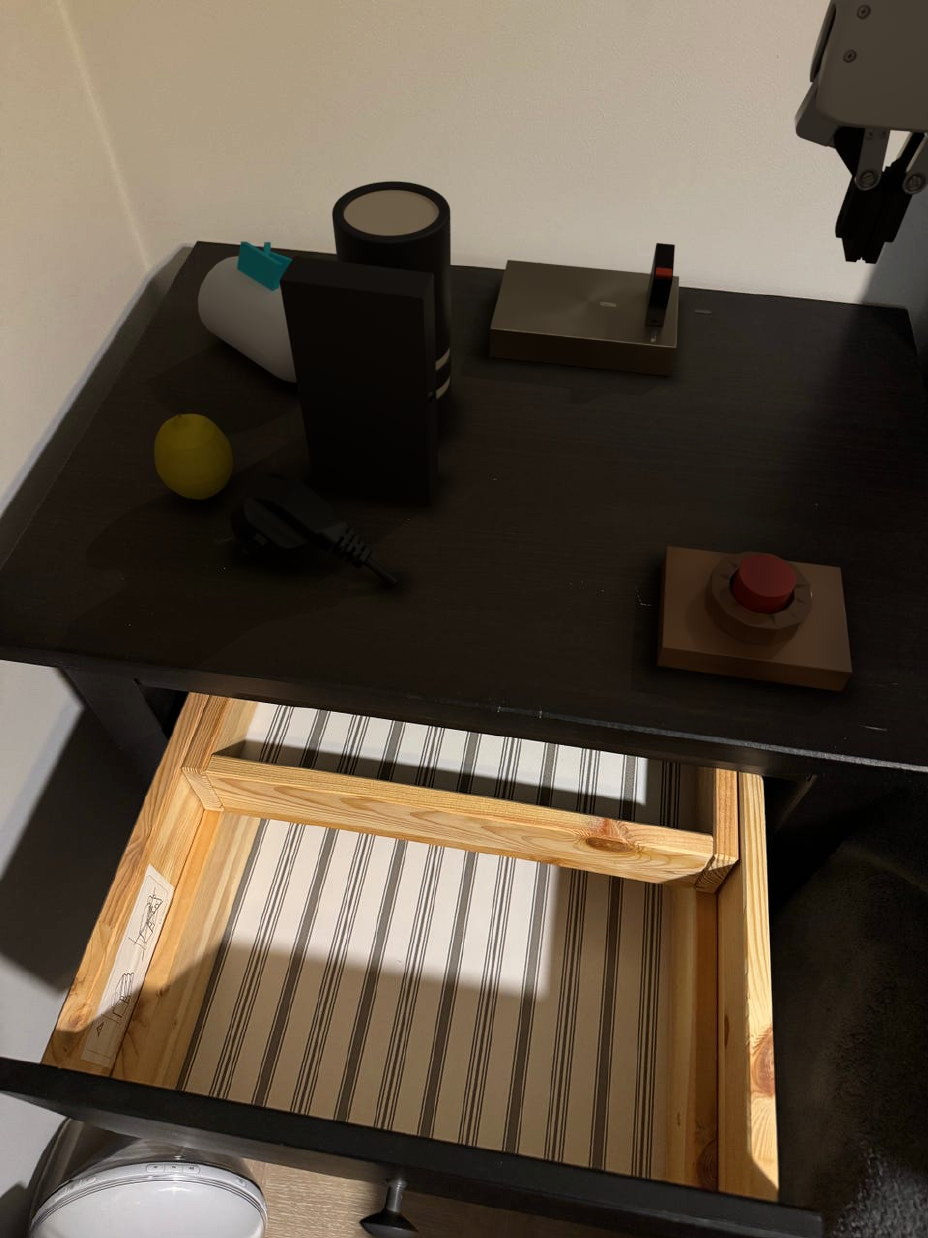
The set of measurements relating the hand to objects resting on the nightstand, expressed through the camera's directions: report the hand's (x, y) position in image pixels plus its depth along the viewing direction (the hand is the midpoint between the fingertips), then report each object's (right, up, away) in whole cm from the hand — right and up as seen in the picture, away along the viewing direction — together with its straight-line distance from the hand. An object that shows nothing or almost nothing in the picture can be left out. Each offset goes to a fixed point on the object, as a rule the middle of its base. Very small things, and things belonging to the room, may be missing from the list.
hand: (857, 249), depth 51 cm
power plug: (-33, -17, +15) cm, 40 cm away
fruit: (-42, -11, +19) cm, 48 cm away
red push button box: (-3, -21, +11) cm, 24 cm away
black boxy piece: (-5, +7, +29) cm, 30 cm away
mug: (-37, +3, +30) cm, 48 cm away
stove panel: (-10, +5, +32) cm, 34 cm away
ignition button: (-3, -19, +8) cm, 21 cm away
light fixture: (-28, -6, +23) cm, 37 cm away
